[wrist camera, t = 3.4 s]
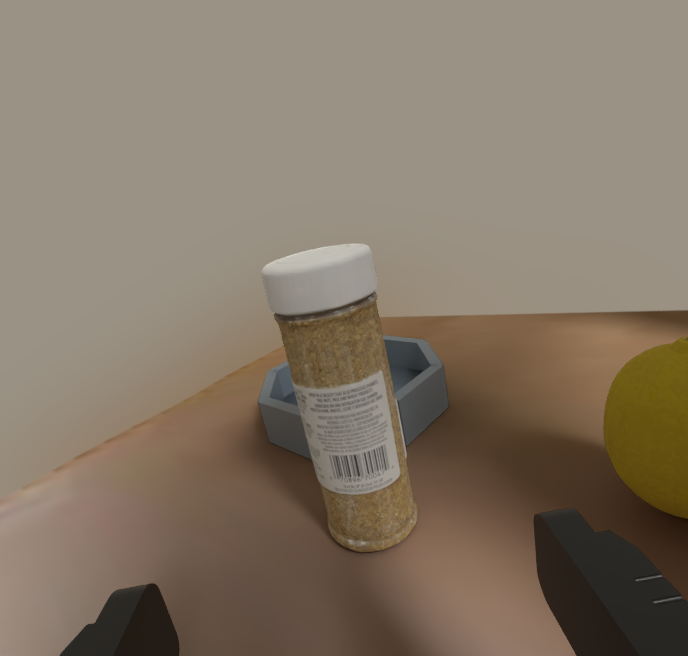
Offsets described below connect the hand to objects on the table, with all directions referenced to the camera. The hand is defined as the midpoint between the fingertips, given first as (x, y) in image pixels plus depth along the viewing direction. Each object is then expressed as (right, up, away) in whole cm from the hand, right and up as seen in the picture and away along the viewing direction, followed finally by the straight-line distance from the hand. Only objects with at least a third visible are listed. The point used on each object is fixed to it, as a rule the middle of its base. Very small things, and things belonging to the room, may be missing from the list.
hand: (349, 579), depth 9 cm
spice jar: (+1, -4, +12) cm, 13 cm away
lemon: (+14, -3, +9) cm, 17 cm away
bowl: (+1, -1, +24) cm, 24 cm away
